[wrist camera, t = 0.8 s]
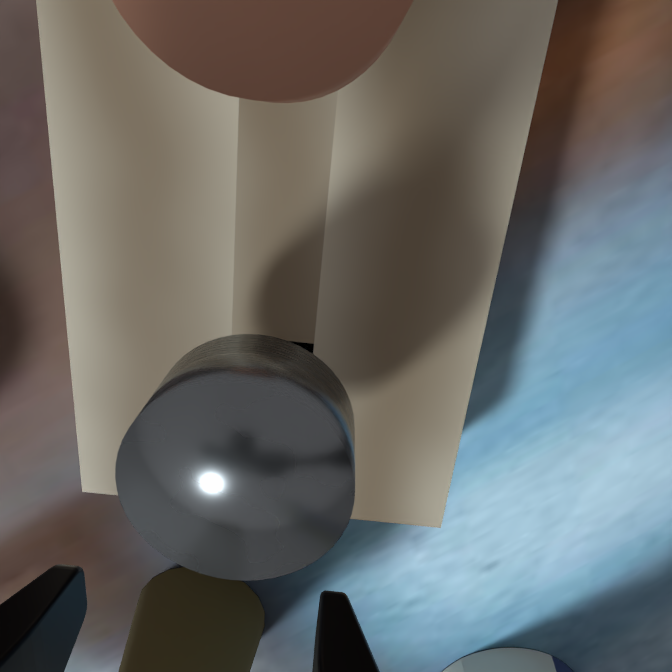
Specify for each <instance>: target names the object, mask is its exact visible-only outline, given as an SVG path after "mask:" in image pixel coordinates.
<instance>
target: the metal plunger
mask: <svg viewBox="0 0 672 672" xmlns="http://www.w3.org/2000/svg"><path fill="white" fill-rule="evenodd" d="M115 480H116V487H117V492H118V496H119V499H120V502H121V505H122V507H123V509H124V511H125V513H126V516H127V517H128V519H129V520H130V522H131V523H132V525H133V527H134V528H135V529H136V530H137V531H138V533H139V534H140V535H141V536H142V537H143V538H144V539H145V540H146V541H147V542H148V543H149V544H150V545H151V546H152V547H153V548H154V549H156V550H157V551H158V552H160V553H161V554H162V555H164V556H165V557H167V558H169V559H170V560H172V561H174V562H175V563H177V564H179V565H181V566H183V567H185V568H188V569H190V570H193V571H195V572H198V573H201V574H204V575H208V576H212V577H216V578H222V579H229V580H242V581H250V580H264V579H270V578H276V577H279V576H283V575H287V574H290V573H292V572H295V571H298V570H300V569H302V568H304V567H306V566H308V565H310V564H312V563H313V562H315V561H316V560H317V559H319V558H320V557H322V556H323V555H324V554H325V553H326V552H327V551H329V550H330V549H331V548H332V547H333V546H334V544H335V543H336V542H337V541H338V540H339V538H340V537H341V535H342V534H343V532H344V530H345V529H346V527H347V525H348V522H349V520H350V517H351V515H352V511H353V506H354V501H355V423H354V413H353V409H352V405H351V402H350V399H349V397H348V394H347V392H346V390H345V388H344V387H343V385H342V383H341V381H340V380H339V379H338V377H337V376H336V375H335V374H334V372H333V371H332V370H331V369H330V368H329V367H328V366H327V365H326V364H325V363H324V362H323V361H322V360H320V359H319V358H318V357H316V356H315V355H314V354H312V353H311V352H309V351H307V350H306V349H304V348H302V347H301V346H298V345H296V344H294V343H291V342H289V341H286V340H283V339H279V338H276V337H272V336H266V335H259V334H238V335H230V336H225V337H220V338H217V339H214V340H211V341H208V342H205V343H203V344H201V345H199V346H198V347H196V348H194V349H192V350H191V351H190V352H188V353H187V354H185V355H184V356H183V357H182V358H181V359H180V360H179V361H178V362H176V363H175V365H174V366H173V367H172V368H171V370H170V371H169V372H168V374H167V375H166V376H165V378H164V379H163V381H162V382H161V383H160V385H159V386H158V388H157V389H156V391H155V392H154V393H153V395H152V396H151V398H150V399H149V400H148V402H147V403H146V405H145V406H144V407H143V409H142V410H141V412H140V413H139V414H138V416H137V417H136V419H135V420H134V422H133V423H132V424H131V426H130V427H129V429H128V430H127V432H126V434H125V436H124V438H123V439H122V442H121V445H120V447H119V450H118V454H117V459H116V465H115Z"/></svg>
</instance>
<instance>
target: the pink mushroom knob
mask: <svg viewBox="0 0 672 672" xmlns="http://www.w3.org/2000/svg"><path fill="white" fill-rule="evenodd" d="M112 1H113V3H114V5H115V6H116V8H117V10H118V11H119V13H120V15H121V16H122V17H123V19H124V20H125V21H126V23H127V24H128V25H129V27H130V28H131V29H132V31H133V32H134V33H135V35H136V36H137V37H138V38H139V39H140V40H141V41H142V42H143V43H144V44H145V45H146V46H147V47H148V48H149V49H150V51H151V52H153V53H154V54H155V55H156V56H157V57H158V58H160V59H161V60H162V61H163V62H164V63H166V64H167V65H168V66H169V67H170V68H172V69H174V70H175V71H177V72H178V73H180V74H181V75H183V76H184V77H186V78H187V79H189V80H191V81H193V82H195V83H197V84H199V85H201V86H203V87H205V88H207V89H210V90H213V91H216V92H219V93H222V94H225V95H228V96H232V97H238V98H243V99H249V100H256V101H264V102H271V103H296V102H305V101H309V100H313V99H317V98H321V97H323V96H326V95H328V94H331V93H333V92H336V91H338V90H339V89H341V88H343V87H344V86H346V85H348V84H350V83H351V82H353V81H354V80H355V79H356V78H358V77H359V76H360V75H362V74H363V73H364V72H365V71H366V70H367V69H368V68H369V67H370V66H371V65H372V64H373V63H374V62H375V61H376V60H377V59H378V58H379V57H380V55H381V54H382V53H383V51H384V50H385V49H386V47H387V46H388V45H389V43H390V42H391V40H392V38H393V37H394V35H395V33H396V32H397V30H398V28H399V26H400V25H401V23H402V21H403V19H404V17H405V15H406V13H407V12H408V10H409V8H410V6H411V4H412V2H413V0H112Z"/></svg>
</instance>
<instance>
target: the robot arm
mask: <svg viewBox="0 0 672 672" xmlns="http://www.w3.org/2000/svg"><path fill="white" fill-rule="evenodd" d="M86 609H87V597H86V587H85V577H84V571H83V569H82V568H81V567H79V566H72V565H62V564H59V565H55V566H53V567H51V568H50V569H48V570H47V571H46V572H44V573H43V574H42V575H40V576H39V577H37V578H36V579H35V580H33V581H32V582H31V583H29V584H28V585H27V586H25V587H24V588H22V589H21V590H20V591H18V592H17V593H16V594H14V595H13V596H11V597H10V598H9V599H7V600H6V601H5V602H3V603H2V604H0V672H64V670H65V668H66V665H67V662H68V660H69V657H70V655H71V652H72V649H73V647H74V644H75V642H76V639H77V636H78V634H79V631H80V629H81V626H82V623H83V621H84V618H85V614H86ZM313 672H380V671H379V669H378V666H377V664H376V662H375V659H374V657H373V655H372V652H371V650H370V648H369V645H368V643H367V640H366V638H365V636H364V633H363V631H362V629H361V626H360V624H359V622H358V619H357V617H356V615H355V612H354V610H353V608H352V605H351V603H350V601H349V598H348V597H347V595H346V594H345V593H343V592H334V591H323V592H322V593H321V595H320V602H319V610H318V618H317V627H316V636H315V648H314V660H313Z"/></svg>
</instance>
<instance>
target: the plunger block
mask: <svg viewBox="0 0 672 672" xmlns="http://www.w3.org/2000/svg"><path fill="white" fill-rule="evenodd" d="M36 3H37V14H38V24H39V35H40V46H41V56H42V67H43V78H44V88H45V99H46V110H47V120H48V131H49V142H50V152H51V163H52V174H53V184H54V195H55V206H56V216H57V227H58V238H59V248H60V259H61V270H62V280H63V291H64V302H65V312H66V323H67V334H68V344H69V355H70V366H71V376H72V387H73V398H74V408H75V419H76V430H77V440H78V451H79V462H80V472H81V483H82V492H91V493H101V494H111V495H118V492H117V487H116V480H115V465H116V459H117V454H118V450H119V447H120V445H121V442H122V439H123V438H124V436H125V434H126V432H127V430H128V429H129V427H130V426H131V424H132V423H133V422H134V420H135V419H136V417H137V416H138V414H139V413H140V412H141V410H142V409H143V407H144V406H145V405H146V403H147V402H148V400H149V399H150V398H151V396H152V395H153V393H154V392H155V391H156V389H157V388H158V386H159V385H160V383H161V382H162V381H163V379H164V378H165V376H166V375H167V374H168V372H169V371H170V370H171V368H172V367H173V366H174V365H175V363H176V362H178V361H179V360H180V359H181V358H182V357H183V356H184V355H185V354H187V353H188V352H190V351H191V350H192V349H194V348H196V347H198V346H199V345H201V344H203V343H205V342H208V341H211V340H214V339H217V338H220V337H225V336H230V335H238V334H259V335H266V336H272V337H276V338H279V339H283V340H286V341H293V342H303V343H312V344H314V350H313V354H314V355H315V356H316V357H318V358H319V359H320V360H322V361H323V362H324V363H325V364H326V365H327V366H328V367H329V368H330V369H331V370H332V371H333V372H334V374H335V375H336V376H337V377H338V379H339V380H340V381H341V383H342V385H343V387H344V388H345V390H346V392H347V394H348V397H349V399H350V402H351V405H352V409H353V413H354V423H355V501H354V506H353V511H352V515H351V517H350V519H358V520H368V521H378V522H388V523H398V524H408V525H418V526H428V527H438V528H441V524H442V519H443V515H444V510H445V506H446V501H447V497H448V492H449V488H450V483H451V479H452V474H453V470H454V465H455V461H456V457H457V452H458V448H459V443H460V439H461V434H462V430H463V425H464V421H465V416H466V412H467V407H468V403H469V398H470V394H471V389H472V385H473V380H474V376H475V371H476V367H477V362H478V358H479V353H480V349H481V344H482V340H483V335H484V331H485V326H486V322H487V317H488V313H489V308H490V304H491V299H492V295H493V290H494V286H495V281H496V277H497V272H498V268H499V263H500V259H501V254H502V250H503V246H504V241H505V237H506V232H507V228H508V223H509V219H510V214H511V210H512V205H513V201H514V196H515V192H516V187H517V183H518V178H519V174H520V169H521V165H522V160H523V156H524V151H525V147H526V142H527V138H528V133H529V129H530V124H531V120H532V115H533V111H534V106H535V102H536V97H537V93H538V88H539V84H540V79H541V75H542V70H543V66H544V61H545V57H546V52H547V48H548V43H549V39H550V34H551V30H552V26H553V21H554V17H555V12H556V8H557V3H558V0H413V2H412V4H411V6H410V8H409V10H408V12H407V13H406V15H405V17H404V19H403V21H402V23H401V25H400V26H399V28H398V30H397V32H396V33H395V35H394V37H393V38H392V40H391V42H390V43H389V45H388V46H387V47H386V49H385V50H384V51H383V53H382V54H381V55H380V57H379V58H378V59H377V60H376V61H375V62H374V63H373V64H372V65H371V66H370V67H369V68H368V69H367V70H366V71H365V72H364V73H363V74H362V75H360V76H359V77H358V78H356V79H355V80H354V81H353V82H351V83H350V84H348V85H346V86H344V87H343V88H341V89H339V90H338V91H336V92H333V93H331V94H328V95H326V96H323V97H321V98H317V99H313V100H309V101H305V102H296V103H271V102H264V101H256V100H249V99H243V98H238V97H232V96H228V95H225V94H222V93H219V92H216V91H213V90H210V89H207V88H205V87H203V86H201V85H199V84H197V83H195V82H193V81H191V80H189V79H187V78H186V77H184V76H183V75H181V74H180V73H178V72H177V71H175V70H174V69H172V68H170V67H169V66H168V65H167V64H166V63H164V62H163V61H162V60H161V59H160V58H158V57H157V56H156V55H155V54H154V53H153V52H151V51H150V49H149V48H148V47H147V46H146V45H145V44H144V43H143V42H142V41H141V40H140V39H139V38H138V37H137V36H136V35H135V33H134V32H133V31H132V29H131V28H130V27H129V25H128V24H127V23H126V21H125V20H124V19H123V17H122V16H121V15H120V13H119V11H118V10H117V8H116V6H115V5H114V3H113V1H112V0H36Z"/></svg>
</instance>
